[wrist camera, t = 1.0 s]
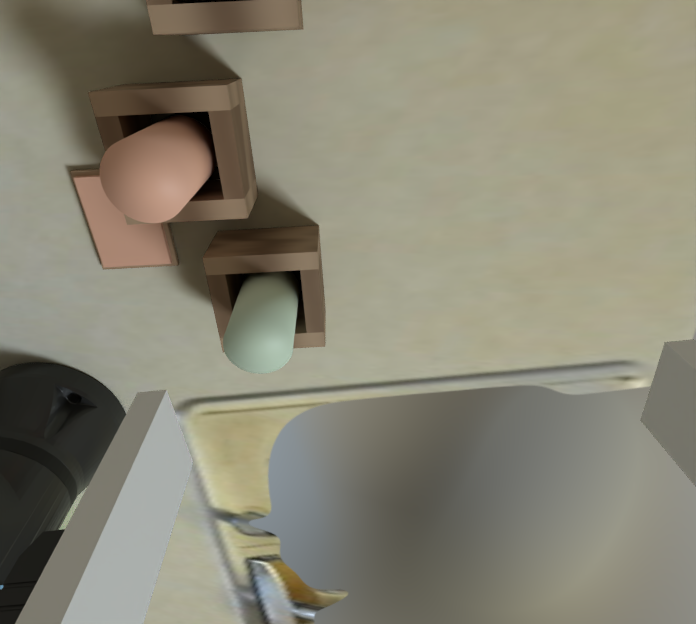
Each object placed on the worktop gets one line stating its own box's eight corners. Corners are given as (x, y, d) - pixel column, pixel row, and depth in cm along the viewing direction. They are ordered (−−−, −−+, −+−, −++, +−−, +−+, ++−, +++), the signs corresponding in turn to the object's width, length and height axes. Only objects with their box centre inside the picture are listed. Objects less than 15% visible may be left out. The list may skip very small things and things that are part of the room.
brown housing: (153, 200, 40) (127, 224, 35) (122, 84, 35) (87, 92, 30) (258, 195, 40) (247, 218, 35) (241, 78, 35) (226, 85, 30)
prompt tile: (105, 267, 43) (100, 271, 42) (72, 170, 38) (66, 173, 37) (179, 263, 43) (176, 267, 42) (155, 165, 38) (151, 168, 38)
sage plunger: (247, 314, 42) (229, 375, 35) (238, 264, 40) (216, 318, 32) (302, 311, 42) (296, 371, 35) (296, 260, 40) (289, 314, 32)
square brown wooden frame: (234, 317, 46) (222, 352, 41) (218, 230, 41) (202, 258, 36) (325, 312, 46) (325, 346, 41) (318, 225, 42) (317, 251, 36)
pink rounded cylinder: (159, 185, 36) (114, 225, 28) (142, 116, 34) (87, 139, 26) (224, 182, 36) (195, 221, 29) (211, 113, 34) (177, 135, 26)
